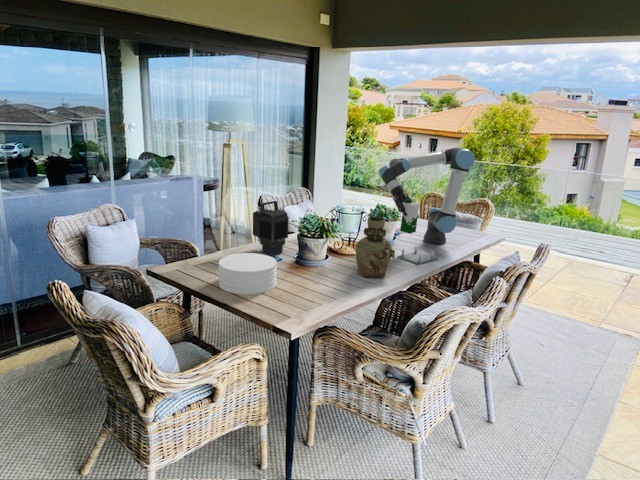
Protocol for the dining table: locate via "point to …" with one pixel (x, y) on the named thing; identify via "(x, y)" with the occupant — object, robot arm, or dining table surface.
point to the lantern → (271, 228)
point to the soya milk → (413, 212)
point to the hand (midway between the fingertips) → (414, 218)
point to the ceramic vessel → (374, 250)
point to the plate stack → (247, 273)
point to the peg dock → (417, 257)
